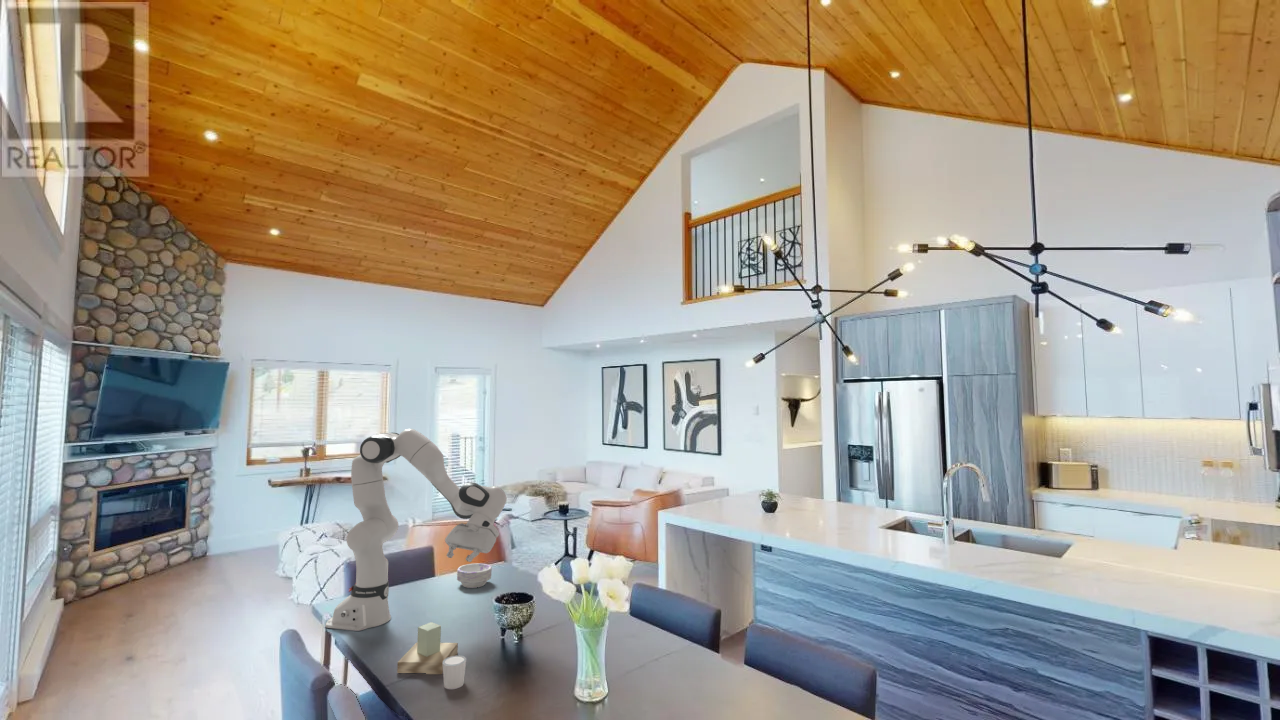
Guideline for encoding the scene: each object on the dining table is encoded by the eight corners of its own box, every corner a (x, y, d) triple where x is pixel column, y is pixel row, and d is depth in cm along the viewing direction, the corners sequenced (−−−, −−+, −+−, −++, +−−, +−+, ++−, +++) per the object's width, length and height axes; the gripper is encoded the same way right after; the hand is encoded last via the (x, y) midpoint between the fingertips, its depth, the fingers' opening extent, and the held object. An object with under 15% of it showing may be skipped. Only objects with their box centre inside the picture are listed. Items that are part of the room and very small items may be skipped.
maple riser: (397, 675, 173) (397, 662, 174) (416, 654, 187) (416, 642, 188) (441, 675, 173) (442, 662, 173) (457, 655, 187) (457, 642, 187)
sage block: (417, 652, 180) (418, 627, 180) (430, 647, 184) (431, 622, 184) (426, 656, 177) (427, 630, 178) (440, 651, 181) (441, 625, 182)
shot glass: (470, 680, 169) (471, 657, 169) (456, 692, 162) (456, 667, 163) (451, 677, 171) (452, 653, 172) (436, 688, 165) (437, 663, 165)
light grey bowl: (497, 581, 262) (497, 563, 262) (480, 591, 247) (481, 573, 248) (468, 578, 265) (468, 561, 266) (449, 589, 251) (450, 570, 251)
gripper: (454, 517, 214) (433, 549, 204) (495, 524, 204) (475, 558, 195) (462, 527, 217) (441, 559, 208) (503, 534, 208) (483, 568, 199)
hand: (458, 558), depth 201 cm, fingers open, 8 cm apart
